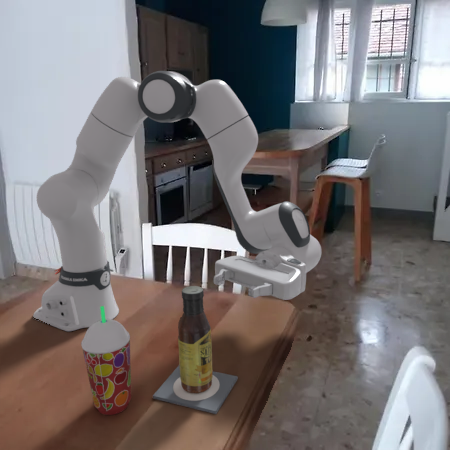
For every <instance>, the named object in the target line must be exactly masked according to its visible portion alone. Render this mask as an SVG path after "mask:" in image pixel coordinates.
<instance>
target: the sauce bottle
mask: <svg viewBox="0 0 450 450" xmlns="http://www.w3.org/2000/svg"><path fill="white" fill-rule="evenodd" d="M204 296H205V294H204V288H203V287H200V286H198V285H190V286H185V287H184V288H182V290H181V298H182V307H183V308H182V312H183V313H182V315H181V317H180V318H179V321H178V325H177V326H178V327H177V331H178V336H177V341H178V342H177V343H178V359H179V364H178V365H180V379H181V385H182V388H183V389H184V390H185V391H187V392H189V393H202V392H204V391H206V390H208V389H209V388H210V386H211V385H212V377H213V376H212V371H213V352H212V350H213V349H212V346H213V345H212V330H211V329H212V327H211V325H210V323H209V320H208V318H207V314H206V312H205V308H204Z"/></svg>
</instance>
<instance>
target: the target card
mask: <svg viewBox="0 0 450 450" xmlns="http://www.w3.org/2000/svg"><path fill="white" fill-rule="evenodd" d="M212 376H213V377H212V385H211V386H210V388H209V389H208V390H206V391H204V392H202V393H189V392H187V391H185V390H184V389H183V388H182V385H181V379H180V364H178V366H177V367H176V368H175V369H174V370H173V372H172V373H171V374H170V375H169V376H168V377H167V379H166V380H164V382H163V383H162V384H161V386H160V387H159V388H158V389H157V390H156V391H155V392H154V393H153V394H152V399H153V400H158V401H162V402H167V403H170V404H175V405H178V406H182V407H187V408H189V409H195V410H199V411H202V412H206V413H210V414H213V415H217V413H218V412H219V410H220V409H221V407H222V406H223V404H224V402H225V400H227V397H228V396H229V394H230V392H231V391H232V390H233V387H234V386H235V384H236V382H237V381H238V379H239V377H238V376H237V375H234V374H233V375H232V374H227V373H224V372H223V373H222V372H218V371H215V370H212Z"/></svg>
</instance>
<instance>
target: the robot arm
mask: <svg viewBox="0 0 450 450" xmlns="http://www.w3.org/2000/svg"><path fill="white" fill-rule="evenodd" d="M147 118H149V119H150V120H152V121H154V122H158V123H174V122H175V123H176V122H178V121H181V120H183V119H184V120H185V119H190V120H193V121H194V122H195V123H196V124H197V126H198V127H199V128H200V131H201V132H202V134H203V135H204V138H205V139H206V140H207V141H206V142H207V143H208V144H209V147H210V149H211V153H212V157H213V164H212V173H213V175H214V176H213V177H214V179H215V182H216V184H217V188H218V190H219V193H220V194H221V197H222V200H223V202H224V204H225V206H226V209H227V212H228V214H229V217H230V219H231V221H232V224H233V228H234V232H235V237H236V239H237V242H238V243H239V245H240V247H241V248H243V249H244V250H245V251H246V252H247V253H249V254H255V255H256V256H255V258H254V259H253V258H249V257H247V256H243V255H231V256H228V257H224V258H221V259H218V260H216V261H215V263H214V264H215V265H214V271H215V273H214V274H215V275H214V276H213V284H215V285H218V286H221V285H223V284H225V281H229V282H231V283H233V284H236V285H240V286H243V287H245V288H248V290H247V291H248V294H247V296H248V297H251V298H254V299H256V298H258V297H262V296H263V297H265V296H272V297H274V298H277V299H280V300H283V301H285V300H286V301H287V300H292V299H294V298H295V297H297V296H298V295H300V294H302V293H304V292H305V290H306V283H307V273H308V272H310V271H311V270H313V269H314V268H315V267H316V266H317V265H318V263H319V262H320V259H321V257H322V246H321V244H320V242H319V241H318V239H317V238H316V237H314V236H313V235H312V234H311V229H310V225H309V220H308V219H307V218H308V217H307V216H306V214H305V212H304V211H303V209H301V208H300V207H299V206H298V205H297V204H295V203H293V202H290V201H288V200H287V201H286V200H285V201H283V202H279V203H277V204H274V205H271V206H269V207H267V208H265V209H261V210H259V211H256V210H254V209H253V208H252V207H251V204H250V200H249V198H248V196H247V193H246V191H245V189H244V186H243V183H242V173H243V171H244V169H245V167H246V166H247V165H248V163H249V162H250V161H251V160H252V158H253V157H254V155H255V153H256V150H257V148H258V144H259V135H258V130H257V128H256V126H255V124H254V122H253V120H252V118H251V117H250V116H249V113H248V111H247V110H246V108H245V106H244V105H243V103H242V102H241V100H240V99H239V98H238V96H237V94H236V93H235V92H234V90H233V89H232V88H231V86H230V85H228V84H227V83H226V82H225V81H223V80H221V79H210V80H209V79H208V80H207V81H205V82H203V83H200V84H199V85H195V84H194V83H193V81H192V80H191V79H189V78H188V77H187V76H184V75H183V74H181V73H179V72H178V71H177V72H176V71H173V70H171V71H169V70H168V71H167V70H158V71H154V72H152V73H149V74H148V75H147V76H146V77H144V78H143V79H142V81H141V82H139V81H137V80H135V79H133V78H130V77H128V76H127V77H126V76H118V77H116V78H114V79H112V81H111V82H110V83H109V84H108V85H107V86H106V88H104V90H103V91H102V93H101V95H100V96H99V97H98V99H97V100H96V102H95V104H94V105H93V107H92V109H91V111H90V113H89V115H88V116H87V119H86V120H85V122H84V125H83V126H82V127H81V129H80V131H79V134H78V136H77V137H76V140H75V145H76V146H75V147H76V148H75V152H74V155H73V159H72V161H71V164H70V165H69V166H68V168H67V169H65V170H64V171H61V172H58V173H55V174H53V175H52V176H50V177H48V179H46V180H45V181H44V182H43V183H42V184H41V185H40V186H39V188H38V190H37V193H36V204H37V207H38V208H39V210H40V212H41V213H42V214H43V215H44V216H45V217H46V218H48V219H49V221H50V223H51V226H52V227H53V229H54V231H55V234H56V237H57V239H58V245H59V252H60V258H61V266H60V267H59V268H57V269H55V270H54V272H55V273H54V275H57V274H59V275H58V280H56V282H54V283H53V284H52V285H51V286H49V287H48V288H47V289H46V290H45V292H43V294H42V296H41V306H40V307H39V308H37V309H36V311H34V313H33V317H34V318H36V319H39V320H41V321H43V322H42V323H44V322H45V324H46V323H47V325H49V324H50V326H52V327H54V328H57V329H59V330H63V331H65V332H72V331H76V330H79V329H80V330H81V329H85V328H89V327H90V326H91V325H92V324H93V323H95V322H97V321H99V320H102V318H101V309H100V307H101V306H104V311H105V319H112V320H114V319H115V318H116V317H117V316H118V315H119V313H120V309H119V305H118V304H117V302H116V299H115V296H114V292H113V288H112V283H111V267H110V262H109V260H108V256H107V247H106V237H105V233H104V232H103V230H102V229H100V226H99V224H98V221H97V219H96V216H95V215H96V214H95V209H94V208H95V207H97V206H98V205H99V204H101V203H103V201H104V199H105V198H106V196H107V194H108V193H109V190H110V187H111V184H112V182H113V180H114V177H115V174H116V171H117V168H118V167H119V164H120V162H121V160H122V158H123V157H124V155H125V153H126V152H127V149H128V147H129V146H130V144H131V142H132V140H133V139H134V137H135V135H136V134H137V131H138V130H139V128H140V126H141V125H142V123H143V122H144V121H145V120H146V119H147ZM33 317H32V318H33ZM34 318H33V319H34ZM36 319H35V320H36ZM39 320H38V321H39ZM41 321H40V322H41Z"/></svg>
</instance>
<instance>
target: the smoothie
mask: <svg viewBox="0 0 450 450" xmlns="http://www.w3.org/2000/svg"><path fill="white" fill-rule="evenodd" d="M100 309H101V318H102V320H99V321H97V322H95V323H93V324H92V325H91V326H90V327H87V330H86V332H85V334H84V337H83V338H82V340H81V343H80V345H81V348H82V353H83V357H84V362H85V363H84V364H85V367H86V372H87V377H88V382H89V386H90V391H91V397H92V401H93V405H94V408H96V409H97V411H98V412H99V413H100V414H103V415H106V416H112V415H116V414H120V413H121V412H123V411H125V410H126V409H127V408H128V406H129V404H130V401H131V400H132V373H131V371H132V369H131V340H130V339H131V334H130V333H129V331H127V329H126V327H124V325H123V324H122V323H120V322H119V321H117V320H116V319H105V311H104V306H101V307H100Z"/></svg>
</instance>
